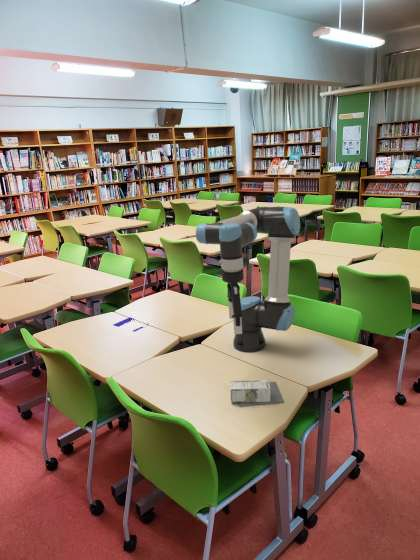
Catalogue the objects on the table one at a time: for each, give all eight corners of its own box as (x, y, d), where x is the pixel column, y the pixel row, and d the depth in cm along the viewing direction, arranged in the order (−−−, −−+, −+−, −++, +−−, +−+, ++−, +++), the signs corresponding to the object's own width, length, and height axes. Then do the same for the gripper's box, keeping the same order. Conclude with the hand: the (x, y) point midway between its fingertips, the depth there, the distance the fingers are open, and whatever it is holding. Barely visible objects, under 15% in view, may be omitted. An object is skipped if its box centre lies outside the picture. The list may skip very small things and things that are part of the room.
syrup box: (230, 394, 158) (269, 393, 158) (231, 403, 153) (271, 401, 152) (230, 381, 157) (269, 379, 156) (230, 389, 151) (270, 387, 151)
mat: (235, 386, 165) (235, 385, 164) (275, 382, 165) (275, 381, 165) (240, 406, 151) (240, 405, 151) (284, 402, 152) (284, 401, 152)
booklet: (144, 335, 218) (144, 334, 218) (113, 325, 233) (113, 324, 233) (160, 327, 227) (160, 325, 227) (130, 318, 242) (129, 317, 242)
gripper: (218, 260, 156) (221, 313, 163) (225, 281, 132) (229, 341, 139) (238, 258, 156) (240, 311, 163) (249, 278, 133) (251, 339, 139)
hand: (235, 325), depth 151 cm, fingers open, 13 cm apart
